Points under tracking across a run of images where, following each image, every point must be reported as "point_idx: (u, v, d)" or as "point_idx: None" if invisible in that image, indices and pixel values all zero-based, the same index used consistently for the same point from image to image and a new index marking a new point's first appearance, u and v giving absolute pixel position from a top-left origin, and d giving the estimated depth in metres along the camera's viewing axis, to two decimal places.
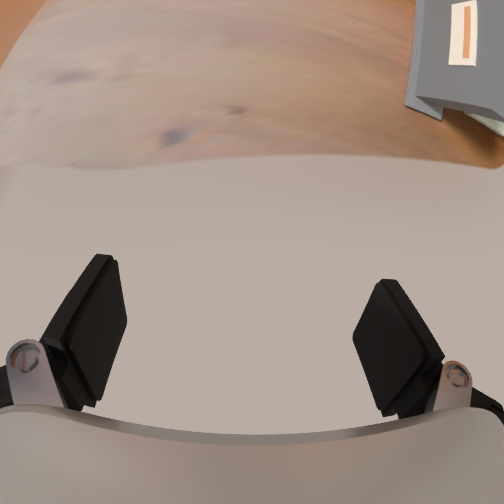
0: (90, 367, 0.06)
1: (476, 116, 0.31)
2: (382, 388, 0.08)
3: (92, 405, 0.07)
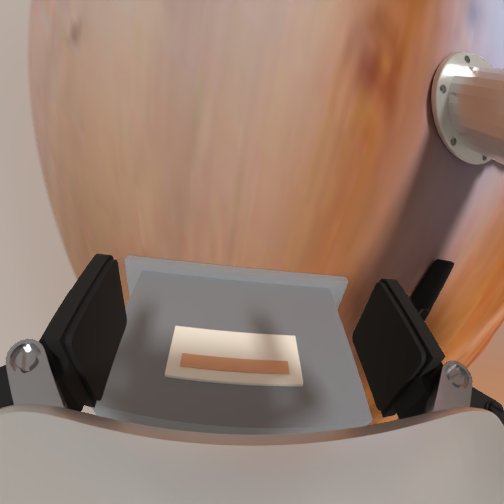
0: (90, 367, 0.06)
1: None
2: (383, 388, 0.08)
3: (92, 405, 0.07)
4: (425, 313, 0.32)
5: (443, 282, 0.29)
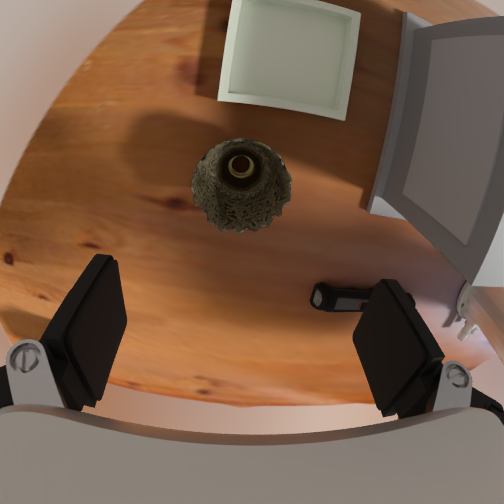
0: (90, 367, 0.06)
1: (348, 11, 0.18)
2: (382, 388, 0.08)
3: (92, 405, 0.07)
4: None
5: None
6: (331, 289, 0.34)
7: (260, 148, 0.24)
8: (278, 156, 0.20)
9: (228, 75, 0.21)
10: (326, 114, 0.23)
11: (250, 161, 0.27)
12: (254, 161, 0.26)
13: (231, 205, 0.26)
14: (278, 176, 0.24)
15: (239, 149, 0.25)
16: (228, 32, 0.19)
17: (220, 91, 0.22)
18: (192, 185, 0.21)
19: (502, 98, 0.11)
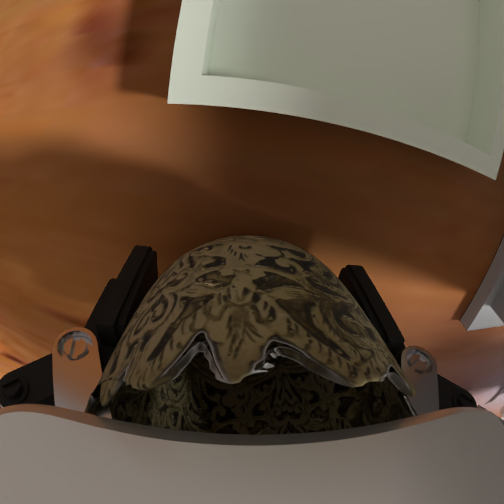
0: None
1: None
2: None
3: None
4: None
5: None
6: None
7: None
8: None
9: (204, 18, 0.05)
10: (471, 161, 0.07)
11: None
12: None
13: (223, 389, 0.10)
14: None
15: None
16: None
17: (177, 71, 0.06)
18: None
19: None
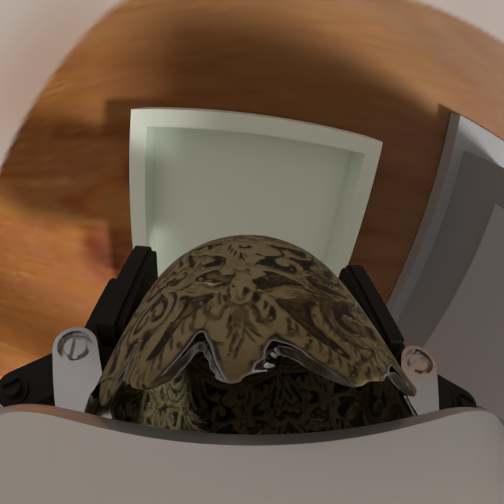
0: None
1: (358, 141, 0.12)
2: None
3: None
4: None
5: None
6: None
7: None
8: None
9: None
10: None
11: None
12: None
13: (223, 389, 0.10)
14: None
15: None
16: (132, 211, 0.13)
17: None
18: None
19: None
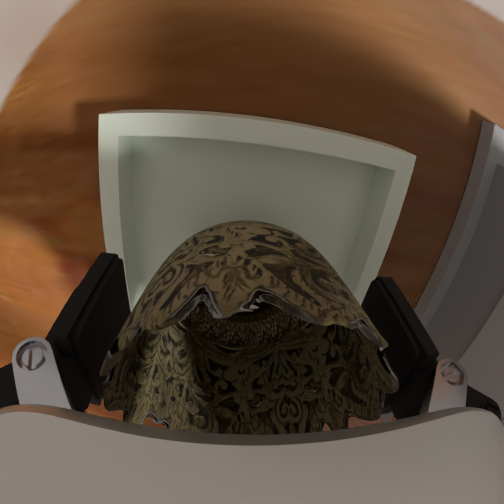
0: (96, 365, 0.07)
1: (389, 154, 0.09)
2: None
3: (97, 403, 0.07)
4: None
5: None
6: None
7: None
8: None
9: None
10: None
11: None
12: None
13: (225, 364, 0.11)
14: None
15: None
16: (107, 241, 0.10)
17: None
18: (109, 404, 0.06)
19: None
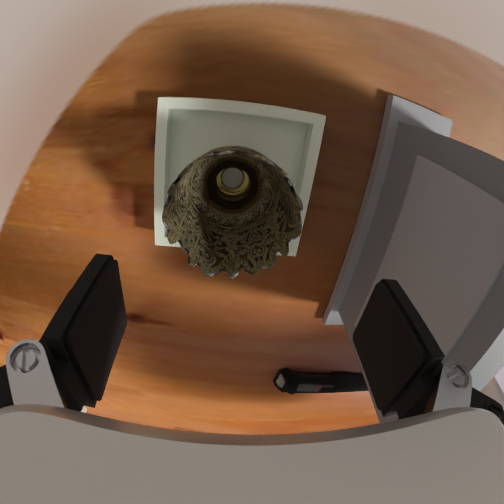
0: (90, 367, 0.06)
1: (308, 115, 0.18)
2: (382, 388, 0.08)
3: (92, 405, 0.07)
4: (328, 390, 0.36)
5: (358, 390, 0.37)
6: (294, 376, 0.35)
7: (257, 158, 0.18)
8: (284, 174, 0.14)
9: None
10: None
11: (244, 173, 0.21)
12: (250, 174, 0.20)
13: (221, 234, 0.20)
14: (282, 196, 0.18)
15: (229, 159, 0.19)
16: (156, 165, 0.19)
17: (156, 235, 0.22)
18: (164, 218, 0.15)
19: (475, 304, 0.11)
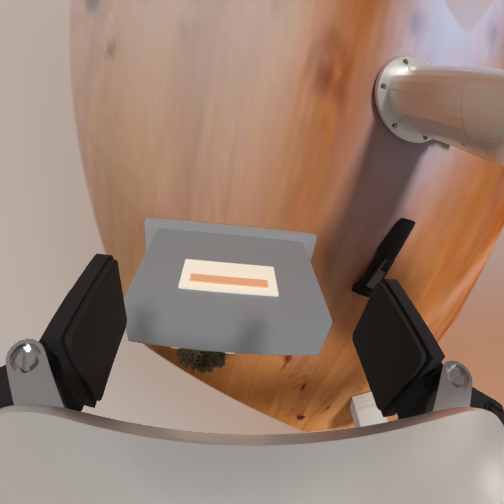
0: (90, 367, 0.06)
1: None
2: (383, 388, 0.08)
3: (92, 405, 0.07)
4: (388, 264, 0.41)
5: (405, 237, 0.39)
6: (358, 286, 0.44)
7: None
8: None
9: None
10: None
11: None
12: None
13: None
14: None
15: None
16: None
17: (229, 352, 0.50)
18: (202, 372, 0.43)
19: None
